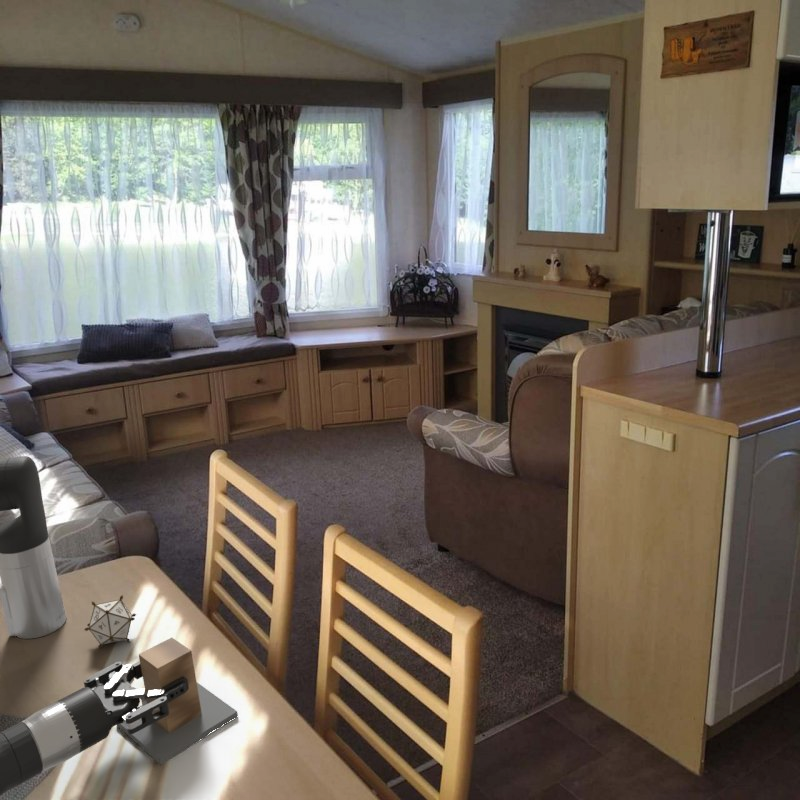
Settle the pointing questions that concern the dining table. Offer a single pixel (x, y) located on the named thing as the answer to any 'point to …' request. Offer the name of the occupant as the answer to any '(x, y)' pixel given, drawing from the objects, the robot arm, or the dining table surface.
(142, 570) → the dining table surface
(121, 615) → the game die
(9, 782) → the robot arm
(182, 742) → the rubber mat
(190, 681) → the walnut block
